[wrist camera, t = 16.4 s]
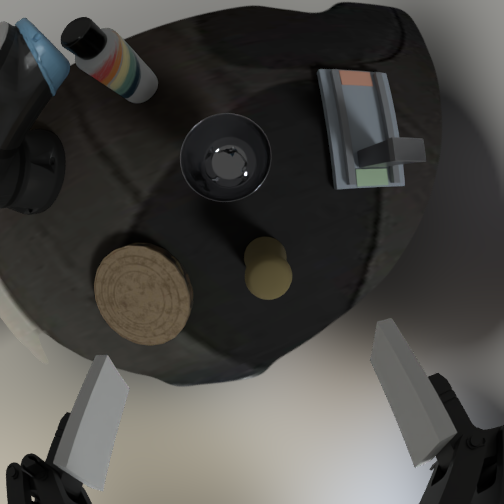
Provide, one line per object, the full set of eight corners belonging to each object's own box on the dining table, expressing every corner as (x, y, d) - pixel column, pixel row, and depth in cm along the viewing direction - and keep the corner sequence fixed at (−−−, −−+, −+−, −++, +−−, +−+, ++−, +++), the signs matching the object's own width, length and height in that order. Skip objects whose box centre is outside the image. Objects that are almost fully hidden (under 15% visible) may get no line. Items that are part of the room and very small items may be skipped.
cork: (266, 227, 39) (271, 240, 29) (295, 258, 40) (309, 281, 29) (234, 256, 40) (228, 279, 29) (264, 286, 41) (267, 318, 30)
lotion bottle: (119, 88, 35) (45, 38, 15) (147, 65, 34) (87, 0, 15) (135, 111, 36) (58, 63, 16) (165, 87, 35) (105, 21, 16)
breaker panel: (400, 185, 38) (408, 185, 35) (334, 189, 38) (339, 189, 35) (382, 76, 34) (389, 70, 32) (316, 73, 34) (320, 65, 32)
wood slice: (165, 224, 40) (159, 227, 37) (211, 319, 43) (208, 328, 40) (88, 264, 41) (78, 269, 38) (131, 346, 44) (125, 355, 41)
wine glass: (246, 209, 39) (241, 219, 24) (197, 181, 38) (163, 175, 23) (275, 160, 37) (288, 140, 23) (226, 133, 37) (209, 98, 22)
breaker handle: (384, 167, 36) (426, 161, 25) (358, 168, 36) (395, 160, 25) (382, 150, 35) (423, 138, 24) (356, 150, 35) (392, 137, 24)
